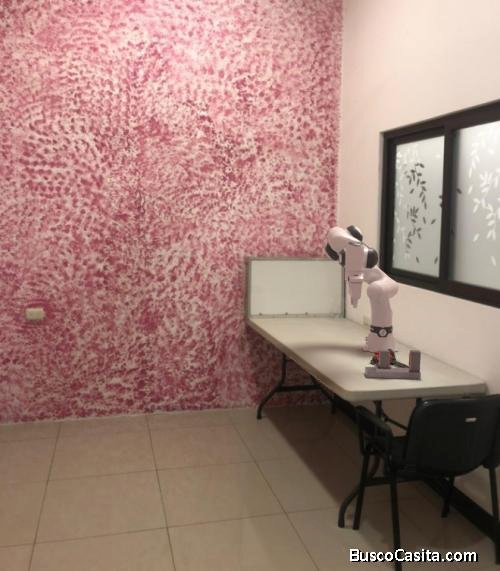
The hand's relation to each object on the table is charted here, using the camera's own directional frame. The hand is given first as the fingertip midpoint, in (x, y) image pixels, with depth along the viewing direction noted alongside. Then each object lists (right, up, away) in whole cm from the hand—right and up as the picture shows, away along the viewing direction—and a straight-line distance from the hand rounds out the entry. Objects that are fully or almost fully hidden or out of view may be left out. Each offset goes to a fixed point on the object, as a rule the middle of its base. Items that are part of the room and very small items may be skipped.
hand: (353, 306), depth 281 cm
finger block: (+13, -29, -4) cm, 32 cm away
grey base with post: (+17, -32, -4) cm, 37 cm away
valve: (+20, -30, +17) cm, 40 cm away
